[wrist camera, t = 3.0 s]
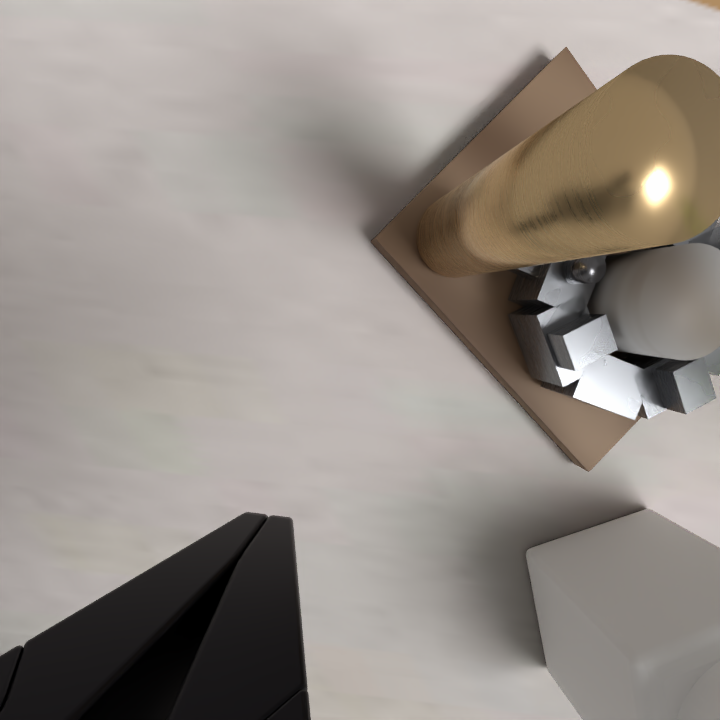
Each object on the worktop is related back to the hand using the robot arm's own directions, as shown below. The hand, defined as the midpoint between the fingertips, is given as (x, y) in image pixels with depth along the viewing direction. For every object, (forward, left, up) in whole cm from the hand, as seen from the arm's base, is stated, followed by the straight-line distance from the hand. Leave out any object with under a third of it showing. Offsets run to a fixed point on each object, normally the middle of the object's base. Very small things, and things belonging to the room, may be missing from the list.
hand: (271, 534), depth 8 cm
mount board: (+13, -5, -11) cm, 18 cm away
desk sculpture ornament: (+12, -5, -10) cm, 16 cm away
